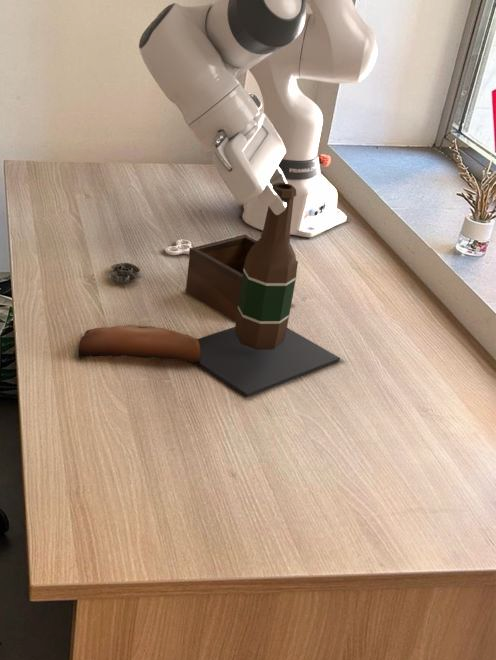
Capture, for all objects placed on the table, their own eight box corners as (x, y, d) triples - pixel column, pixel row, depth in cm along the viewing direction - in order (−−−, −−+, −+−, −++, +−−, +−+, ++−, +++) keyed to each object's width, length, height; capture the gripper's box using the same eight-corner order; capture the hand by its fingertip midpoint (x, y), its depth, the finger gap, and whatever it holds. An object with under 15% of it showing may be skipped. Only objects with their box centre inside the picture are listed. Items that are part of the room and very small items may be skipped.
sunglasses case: (200, 336, 146) (203, 313, 140) (198, 377, 143) (202, 355, 137) (82, 330, 145) (80, 307, 139) (78, 370, 142) (76, 349, 136)
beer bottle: (281, 355, 142) (309, 199, 128) (230, 345, 143) (252, 190, 129) (286, 332, 148) (314, 181, 134) (237, 323, 149) (259, 172, 135)
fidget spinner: (180, 241, 179) (180, 237, 178) (210, 250, 177) (211, 246, 176) (162, 253, 174) (162, 248, 173) (193, 262, 171) (194, 258, 171)
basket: (238, 276, 169) (245, 234, 164) (290, 305, 161) (298, 261, 156) (184, 292, 161) (189, 248, 157) (236, 323, 154) (242, 277, 149)
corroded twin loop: (105, 284, 160) (105, 279, 160) (113, 265, 167) (113, 260, 166) (134, 288, 160) (134, 283, 160) (141, 269, 167) (142, 264, 166)
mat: (266, 319, 156) (267, 316, 155) (339, 361, 146) (340, 357, 146) (173, 349, 144) (174, 346, 144) (246, 397, 135) (247, 394, 134)
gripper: (228, 128, 119) (291, 217, 123) (258, 91, 136) (314, 171, 140) (190, 157, 122) (253, 243, 126) (224, 117, 139) (279, 194, 143)
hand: (285, 205), depth 133 cm, fingers closed on beer bottle, 4 cm apart
